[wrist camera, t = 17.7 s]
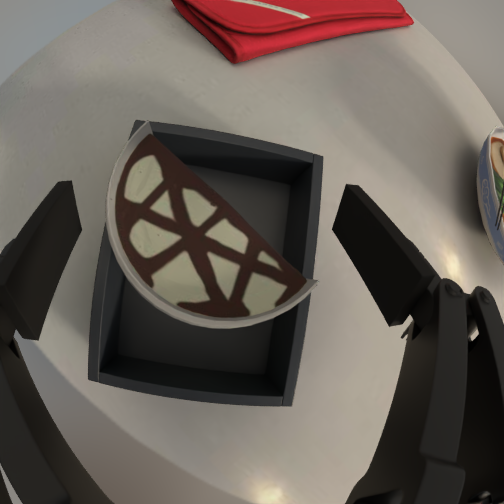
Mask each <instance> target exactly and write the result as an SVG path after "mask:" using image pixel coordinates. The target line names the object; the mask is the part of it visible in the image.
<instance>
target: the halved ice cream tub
mask: <svg viewBox="0 0 504 504" xmlns="http://www.w3.org/2000/svg"><path fill="white" fill-rule="evenodd" d="M106 225H107V230H108V236H109V241H110V243H111V246H112V249H113V252H114V254H115V257H116V259H117V262H118V264H119V265H120V267H121V269H122V271H123V272H124V274H125V276H126V277H127V279H128V281H129V282H130V283H131V284H132V285H133V287H134V288H135V289H136V290H137V291H138V292H139V294H140V295H141V296H142V297H144V298H145V299H146V300H147V301H148V302H150V303H151V304H152V305H153V306H154V307H156V308H157V309H159V310H160V311H162V312H164V313H166V314H167V315H169V316H171V317H173V318H175V319H178V320H180V321H183V322H186V323H189V324H191V325H196V326H202V327H207V328H228V329H231V328H238V327H244V326H250V325H253V324H256V323H260V322H263V321H266V320H269V319H272V318H274V317H276V316H278V315H280V314H282V313H284V312H286V311H288V310H289V309H291V308H292V307H294V306H295V305H296V304H298V303H299V302H300V301H302V300H303V299H304V298H305V297H306V296H307V295H308V294H309V293H310V292H311V291H312V290H313V289H314V288H315V287H316V286H317V283H318V282H319V280H313V279H305V277H303V276H302V275H301V274H300V272H299V271H298V270H297V269H296V268H294V267H293V266H292V265H291V264H289V263H288V262H287V261H286V260H285V259H284V258H283V257H282V256H281V255H280V254H279V253H278V252H277V251H276V250H275V249H274V248H273V247H272V246H271V245H270V244H269V243H268V242H267V241H266V240H265V239H264V238H263V237H262V236H261V235H260V234H259V233H258V232H257V231H256V230H255V229H254V228H253V227H252V226H251V225H250V224H249V223H248V222H247V221H246V220H245V219H244V218H243V217H242V216H241V215H240V214H239V213H238V212H237V211H236V210H235V209H234V208H233V207H232V206H231V205H230V204H229V203H228V202H227V201H226V200H225V199H224V198H223V197H222V196H220V195H219V194H218V193H217V192H216V191H215V190H214V189H212V188H211V187H210V186H209V185H208V184H206V183H205V182H204V181H203V180H202V179H201V178H200V177H199V176H197V175H196V174H195V173H194V172H193V171H192V170H191V169H190V168H188V167H187V166H186V165H185V164H184V163H183V162H182V161H181V160H180V159H179V158H178V157H176V156H175V155H174V154H173V153H172V152H171V151H170V150H169V149H168V148H167V147H165V146H164V145H163V144H162V143H161V142H160V141H159V140H158V139H157V138H155V137H154V135H153V132H152V129H151V126H150V123H149V121H148V120H147V121H146V122H145V123H144V124H143V125H142V126H141V127H140V128H139V129H138V130H137V131H136V132H135V133H134V134H133V136H132V137H131V138H130V140H129V141H128V142H127V143H126V145H125V146H124V148H123V150H122V152H121V154H120V155H119V157H118V159H117V161H116V164H115V166H114V169H113V172H112V175H111V178H110V181H109V184H108V190H107V196H106Z"/></svg>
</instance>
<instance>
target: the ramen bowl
mask: <svg viewBox="0 0 504 504" xmlns="http://www.w3.org/2000/svg"><path fill="white" fill-rule="evenodd" d="M477 193H478V204H479V208H480V212H481V216H482V221H483V225H484V228H485V230H486V233H487V236H488V238H489V241H490V244H491V246H492V248H493V250H494V251H495V253H496V254H497V256H498V257H499V259H500V260H501V262H502V263H503V264H504V128H502V127H499V126H495V128H494V129H493V130H492V131H491V132H490V134H489V135H488V137H487V139H486V140H485V142H484V144H483V147H482V149H481V152H480V156H479V160H478V169H477Z"/></svg>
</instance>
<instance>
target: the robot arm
mask: <svg viewBox="0 0 504 504" xmlns="http://www.w3.org/2000/svg"><path fill="white" fill-rule="evenodd" d="M332 230H333V232H334V233H335V235H336V236H337V238H338V240H339V241H340V243H341V244H342V246H343V248H344V249H345V251H346V252H347V254H348V256H349V257H350V259H351V261H352V262H353V264H354V266H355V267H356V269H357V271H358V272H359V274H360V276H361V277H362V279H363V281H364V282H365V284H366V286H367V288H368V289H369V291H370V293H371V295H372V296H373V298H374V300H375V302H376V304H377V305H378V307H379V309H380V311H381V313H382V314H383V316H384V318H385V320H386V322H387V324H388V326H389V327H390V326H395V325H400V324H403V323H404V322H405V320H406V319H407V317H408V316H409V315H411V316H412V318H413V321H412V322H411V324H410V325H409V326H408V328H407V329H406V330H405V332H404V333H403V334H402V336H401V338H402V339H403V338H404V337H405V335H407V334H408V337H407V339H406V340H407V342H406V347H405V352H404V357H403V361H402V366H401V370H400V374H399V378H398V382H397V386H396V390H395V393H394V397H393V401H392V404H391V407H390V411H389V414H388V417H387V420H386V423H385V426H384V429H383V432H382V435H381V438H380V441H379V443H378V446H377V449H376V451H375V454H374V457H373V459H372V462H371V464H370V466H369V469H368V471H367V472H366V474H365V475H364V476H363V477H362V478H361V479H360V480H359V481H358V482H357V484H356V485H355V486H354V488H353V490H352V491H351V493H350V495H349V497H348V499H347V501H346V503H345V504H504V324H503V321H502V318H501V315H500V312H499V310H498V307H497V305H496V302H495V300H494V298H493V296H492V295H491V293H490V292H489V291H488V290H487V289H486V288H483V287H481V286H477V287H475V289H474V290H473V292H472V293H471V294H466V293H464V292H463V290H462V289H461V287H460V286H459V285H458V284H457V283H455V282H454V281H452V280H450V279H447V278H443V279H441V278H440V276H439V275H438V274H437V272H436V271H435V270H434V268H433V267H432V266H431V265H430V263H429V262H428V261H427V260H426V258H425V259H424V256H423V255H422V253H421V252H419V250H418V248H417V247H416V246H415V245H414V244H413V243H412V242H411V241H410V240H409V239H407V238H406V237H405V236H404V235H403V233H402V232H401V231H400V230H399V229H398V228H397V226H396V225H395V224H394V223H393V222H392V221H391V220H390V218H389V217H388V216H387V215H386V214H385V213H384V212H383V211H382V210H381V209H380V207H379V206H378V205H377V204H376V203H375V202H374V201H373V200H372V199H371V198H370V197H369V196H368V195H367V194H366V193H365V192H364V191H363V190H362V188H361V187H360V186H359V185H350V184H346V186H345V189H344V192H343V196H342V199H341V202H340V205H339V209H338V212H337V215H336V218H335V221H334V224H333V227H332ZM81 231H82V227H81V223H80V219H79V215H78V210H77V205H76V200H75V195H74V190H73V185H72V181H61V182H58V183H57V184H56V185H55V186H54V187H53V189H52V190H51V191H50V192H49V194H48V195H47V196H46V197H45V199H44V200H43V201H42V202H41V204H40V205H39V206H38V208H37V209H36V210H35V212H34V213H33V214H32V216H31V217H30V218H29V220H28V221H27V222H26V224H25V225H24V227H23V228H22V230H21V231H20V233H19V234H18V235H17V237H16V238H15V239H13V240H12V241H11V242H10V243H8V244H7V245H6V246H5V248H4V249H3V251H2V252H1V254H0V463H1V466H2V468H3V470H4V472H5V474H6V475H7V477H8V479H9V481H10V483H11V485H12V487H13V488H14V490H15V492H16V494H17V495H18V497H19V498H20V500H21V502H22V503H23V504H114V503H113V502H112V501H111V500H110V499H109V498H108V497H107V496H106V495H105V494H104V493H103V491H102V490H101V489H100V488H99V486H98V485H97V484H96V483H95V481H94V480H93V479H92V478H91V476H90V475H89V474H88V473H87V471H86V470H85V468H84V467H83V466H82V464H81V463H80V461H79V460H78V459H77V457H76V456H75V454H74V453H73V451H72V450H71V448H70V447H69V445H68V444H67V442H66V441H65V439H64V438H63V436H62V434H61V433H60V431H59V429H58V428H57V426H56V424H55V423H54V421H53V419H52V417H51V415H50V414H49V412H48V410H47V408H46V406H45V404H44V402H43V400H42V399H41V397H40V395H39V392H38V390H37V388H36V387H35V384H34V382H33V380H32V378H31V376H30V373H29V371H28V369H27V366H26V364H25V361H24V359H23V356H22V354H21V351H20V348H19V346H18V343H17V341H16V340H15V338H14V337H13V336H14V333H15V330H16V329H17V331H18V332H19V334H20V335H21V336H22V338H24V339H31V340H38V341H39V337H40V334H41V331H42V327H43V324H44V321H45V318H46V315H47V312H48V309H49V307H50V304H51V301H52V298H53V296H54V293H55V290H56V288H57V285H58V283H59V280H60V278H61V275H62V273H63V270H64V268H65V266H66V263H67V261H68V259H69V257H70V254H71V252H72V250H73V248H74V246H75V244H76V241H77V239H78V237H79V235H80V233H81ZM477 328H478V332H479V335H478V336H477V337H476V338H475V339H474V340H473V341H471V337H470V336H471V335H472V334H473V333H474V332H475V331H476V329H477ZM0 504H13V503H12V501H11V499H10V496H9V493H8V491H7V488H6V485H5V482H4V479H3V476H2V473H1V470H0Z"/></svg>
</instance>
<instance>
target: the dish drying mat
mask: <svg viewBox="0 0 504 504" xmlns="http://www.w3.org/2000/svg"><path fill="white" fill-rule="evenodd" d="M171 1H172V2H173V4H174V6H175V7H176V8H177V9H178V11H179V12H180V13H181V14H182V15H183V16H184V17H185V18H186V19H187V20H188V21H189V22H190V23H191V24H192V25H193V26H194V27H195V28H196V29H197V30H198V31H200V32H201V33H202V34H203V35H204V36H205V37H206V38H207V39H208V40H209V41H210V42H211V43H212V44H214V45H215V46H216V47H217V48H218V49H219V50H220V51H221V52H222V53H223V54H224V55H225V57H226V58H227V59H228V60H229V61H230V62H232V63H234V64H235V63H238V62H243V61H246V60H250V59H252V58H255V57H258V56H261V55H265V54H268V53H272V52H275V51H279V50H283V49H287V48H291V47H295V46H299V45H303V44H307V43H310V42H315V41H319V40H324V39H329V38H333V37H337V36H341V35H346V34H353V33H359V32H365V31H372V30H380V29H386V28H396V27H401V26H408V25H412V24H413V23H414V22H413V20H412V18H411V17H410V16H409V15H408V14H407V13H406V11H405V9H404V7H403V6H402V5H401V4H400V3H399V2H398V1H397V0H171Z"/></svg>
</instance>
